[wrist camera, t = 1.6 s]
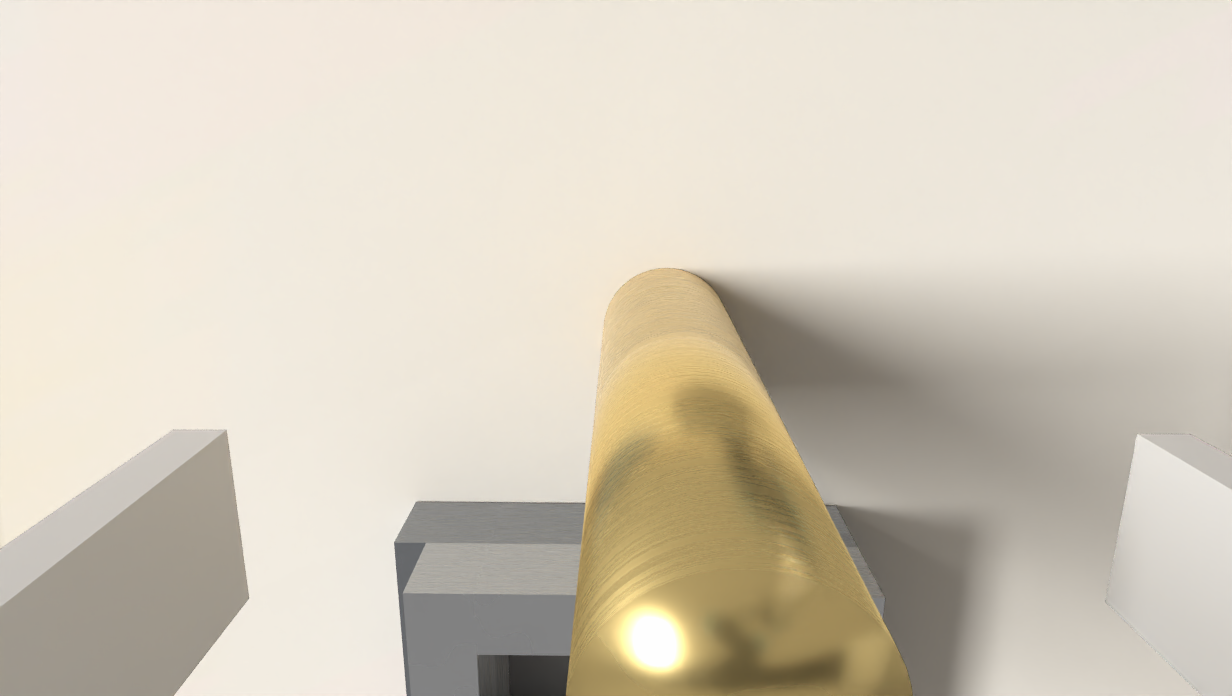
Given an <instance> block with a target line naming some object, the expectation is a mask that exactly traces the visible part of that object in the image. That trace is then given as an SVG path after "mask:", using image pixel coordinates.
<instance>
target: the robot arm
mask: <svg viewBox="0 0 1232 696" xmlns="http://www.w3.org/2000/svg"><path fill="white" fill-rule="evenodd" d="M248 599H249V594H248V586H247V579H246V571H245V564H244V556H243V549H242V541H241V534H240V526H239V519H238V511H237V504H236V496H235V489H234V481H233V474H232V466H231V459H230V452H229V444H228V437H227V430H172V431H171V432H169V433H168V434H166V435H165V436H163V437H162V438H160V439H159V440H158V441H156V442H155V443H153V444H152V445H150V446H149V447H147V448H146V449H145V450H143V451H142V452H140V453H139V454H137V455H136V456H134V457H133V458H131V459H130V460H129V461H127V462H126V463H124V464H123V465H121V466H120V467H118V468H117V469H115V470H114V471H113V472H111V473H110V474H108V475H107V476H105V477H104V478H102V479H101V480H99V481H98V482H97V483H95V484H94V485H92V486H91V487H89V488H88V489H86V490H85V491H83V492H82V493H81V494H79V495H78V496H76V497H75V498H73V499H72V500H70V501H69V502H67V503H66V504H65V505H63V506H62V507H60V508H59V509H57V510H56V511H54V512H53V513H52V514H50V515H49V516H47V517H46V518H44V519H43V520H41V521H40V522H38V523H37V524H36V525H34V526H33V527H31V528H30V529H28V530H27V531H25V532H24V533H22V534H21V535H20V536H18V537H17V538H15V539H14V540H12V541H11V542H9V543H8V544H6V545H5V546H4V547H2V548H1V549H0V696H174V695H175V693H176V692H177V691H178V689H179V688H180V687H181V686H182V684H183V683H184V682H185V680H186V679H187V678H188V677H189V675H190V674H191V673H192V671H193V670H194V669H195V667H196V666H197V665H198V664H199V662H200V661H201V660H202V658H203V657H204V656H205V655H206V653H207V652H208V651H209V649H210V648H211V647H212V646H213V644H214V643H215V642H216V640H217V639H218V638H219V637H220V635H221V634H222V633H223V631H224V630H225V629H226V627H227V626H228V625H229V624H230V622H231V621H232V620H233V618H234V617H235V616H236V615H237V613H238V612H239V611H240V609H241V608H242V607H243V606H244V604H245V603H246V602H247V600H248ZM1105 602H1106V603H1107V604H1108V605H1109V606H1110V607H1111V608H1112V609H1113V610H1114V611H1115V612H1116V613H1117V614H1118V615H1119V616H1120V617H1121V618H1122V619H1123V620H1124V621H1125V622H1126V623H1127V624H1128V625H1129V626H1130V627H1131V628H1133V629H1134V630H1135V631H1136V632H1137V633H1138V634H1139V635H1140V636H1141V637H1142V638H1143V639H1144V640H1145V641H1146V642H1147V643H1148V644H1149V645H1150V646H1151V647H1152V648H1153V649H1154V650H1155V651H1156V652H1157V653H1158V654H1159V655H1160V656H1161V657H1162V658H1163V659H1164V660H1165V661H1166V662H1167V663H1168V664H1169V665H1170V666H1171V667H1172V668H1174V669H1175V670H1176V671H1177V672H1178V673H1179V674H1180V675H1181V676H1182V677H1183V678H1184V679H1185V680H1186V681H1187V682H1188V683H1189V684H1190V685H1191V686H1192V687H1193V688H1194V689H1195V690H1196V691H1197V692H1198V693H1199V694H1200V695H1201V696H1232V456H1230V455H1228V454H1226V453H1225V452H1223V451H1221V450H1219V449H1217V448H1215V447H1213V446H1212V445H1210V444H1208V443H1206V442H1204V441H1202V440H1200V439H1199V438H1197V437H1195V436H1193V435H1191V434H1137V438H1136V443H1135V448H1134V453H1133V459H1132V464H1131V469H1130V474H1129V480H1128V485H1127V490H1126V495H1125V500H1124V506H1123V511H1122V516H1121V521H1120V527H1119V532H1118V537H1117V542H1116V548H1115V553H1114V558H1113V563H1112V569H1111V574H1110V579H1109V584H1108V590H1107V595H1106V600H1105Z"/></svg>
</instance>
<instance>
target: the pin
mask: <svg viewBox="0 0 1232 696" xmlns="http://www.w3.org/2000/svg"><path fill="white" fill-rule="evenodd" d="M566 696H913V694H912V686H911V682H910V679H909V675H908V672H907V668H906V666H905V664H904V661H903V659H902V657H901V655H900V653H899V650H898V648H897V646H896V645H895V643H894V641H893V639H892V637H891V635H890V633H889V631H888V629H887V627H886V625H885V623H884V621H883V619H882V617H881V615H880V613H879V611H878V609H877V607H876V605H875V603H874V601H873V599H872V597H871V595H870V593H869V591H868V589H867V587H866V585H865V583H864V581H863V580H862V578H861V576H860V574H859V572H858V570H857V568H856V566H855V564H854V562H853V560H852V558H851V556H850V554H849V552H848V550H847V548H846V546H845V544H844V542H843V540H842V538H841V536H840V534H839V532H838V530H837V528H836V526H835V524H834V522H833V520H832V518H831V516H830V514H829V513H828V511H827V509H826V507H825V505H824V503H823V501H822V499H821V497H820V495H819V493H818V491H817V489H816V487H815V485H814V483H813V481H812V479H811V477H810V475H809V473H808V471H807V469H806V467H805V465H804V463H803V461H802V459H801V457H800V455H799V453H798V451H797V449H796V448H795V446H794V444H793V442H792V440H791V438H790V436H789V434H788V432H787V430H786V428H785V426H784V424H783V422H782V420H781V418H780V416H779V414H778V412H777V410H776V408H775V406H774V404H773V402H772V400H771V398H770V396H769V394H768V392H767V390H766V388H765V386H764V384H763V382H762V381H761V379H760V377H759V375H758V373H757V371H756V369H755V367H754V365H753V363H752V361H751V359H750V357H749V355H748V353H747V351H746V349H745V347H744V345H743V343H742V341H741V339H740V337H739V335H738V333H737V331H736V329H735V327H734V325H733V323H732V321H731V319H730V317H729V316H728V314H727V312H726V310H725V308H724V306H723V304H722V302H721V300H720V298H719V297H718V295H717V293H716V292H715V291H714V290H713V289H712V287H711V286H710V285H708V284H707V283H706V282H705V281H704V280H702V279H701V278H699V277H698V276H696V275H694V274H692V273H689V272H686V271H683V270H679V269H671V268H662V269H654V270H650V271H647V272H644V273H641V274H639V275H637V276H635V277H633V278H632V279H630V280H629V281H627V282H626V283H625V284H624V285H623V286H622V287H621V288H620V289H619V290H618V291H617V292H616V294H615V295H614V297H613V298H612V300H611V302H610V304H609V306H608V309H607V312H606V315H605V320H604V329H603V339H602V348H601V358H600V368H599V377H598V387H597V397H596V406H595V416H594V426H593V436H592V445H591V455H590V465H589V474H588V484H587V494H586V504H585V513H584V523H583V533H582V542H581V552H580V562H579V571H578V581H577V591H576V601H575V610H574V620H573V630H572V639H571V649H570V659H569V668H568V678H567V688H566Z"/></svg>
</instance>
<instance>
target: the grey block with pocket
mask: <svg viewBox="0 0 1232 696" xmlns="http://www.w3.org/2000/svg"><path fill="white" fill-rule="evenodd" d="M585 504H586V503H486V502H416V503H415V505H414V507H413V509H412V511H411V512H410V514H409V516H408V518H407V520H406V522H405V524H404V525H403V527H402V529H401V531H400V533H399V535H398V537H397V538H396V540H395V542H394V545H395V558H396V570H397V582H398V594H399V607H400V619H401V631H402V643H403V655H404V668H405V680H406V692H407V696H510V679H509V655H547V656H570V649H571V639H572V630H573V620H574V610H575V601H576V591H577V581H578V571H579V562H580V552H581V542H582V533H583V523H584V513H585ZM825 507H826V509H827V511H828V513H829V514H830V516H831V518H832V520H833V522H834V524H835V526H836V528H837V530H838V532H839V534H840V536H841V538H842V540H843V542H844V544H845V546H846V548H847V550H848V552H849V554H850V556H851V558H852V560H853V562H854V564H855V566H856V568H857V570H858V572H859V574H860V576H861V578H862V580H863V581H864V583H865V585H866V587H867V589H868V591H869V593H870V595H871V597H872V599H873V601H874V603H875V605H876V607H877V609H878V611H879V613H880V615H881V617H882V619H883V613H884V605H885V597H884V595H883V593H882V591H881V589H880V588H879V586H878V584H877V582H876V580H875V578H874V576H873V574H872V573H871V571H870V569H869V567H868V565H867V563H866V561H865V560H864V558H863V556H862V554H861V552H860V550H859V548H858V546H857V545H856V543H855V541H854V539H853V537H852V535H851V533H850V532H849V530H848V528H847V526H846V524H845V522H844V520H843V518H842V517H841V515H840V513H839V511H838V509H837V507H836V506H825Z"/></svg>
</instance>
